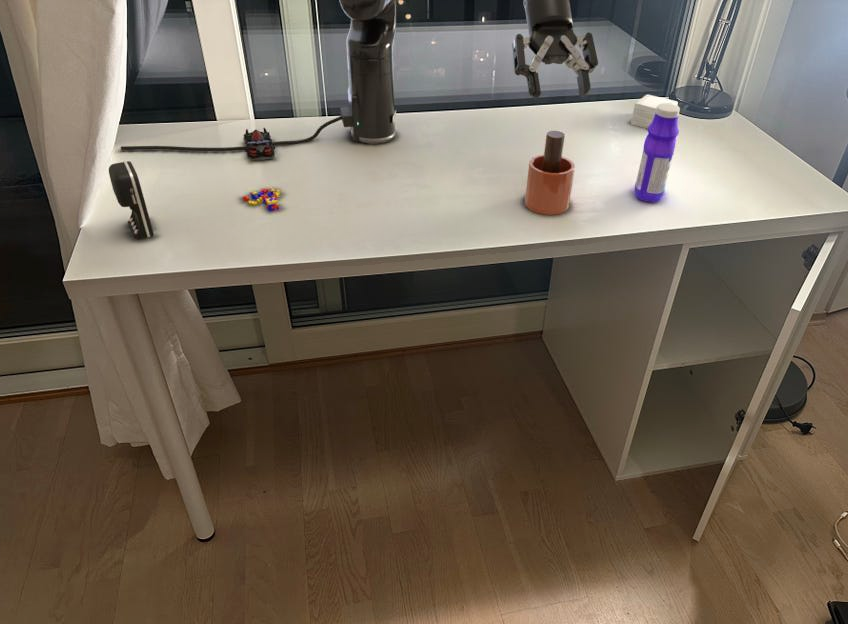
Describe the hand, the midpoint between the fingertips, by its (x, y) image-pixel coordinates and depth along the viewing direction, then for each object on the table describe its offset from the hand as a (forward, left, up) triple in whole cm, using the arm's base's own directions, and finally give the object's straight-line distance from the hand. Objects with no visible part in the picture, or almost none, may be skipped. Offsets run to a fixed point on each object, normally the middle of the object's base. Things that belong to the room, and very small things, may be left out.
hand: (560, 96), depth 119 cm
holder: (0, 0, -20) cm, 20 cm away
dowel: (0, 0, -20) cm, 20 cm away
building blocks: (-51, +10, -21) cm, 56 cm away
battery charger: (-72, +3, -21) cm, 75 cm away
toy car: (-51, +33, -21) cm, 64 cm away
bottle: (+21, 0, -21) cm, 29 cm away
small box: (+39, +34, -21) cm, 55 cm away
